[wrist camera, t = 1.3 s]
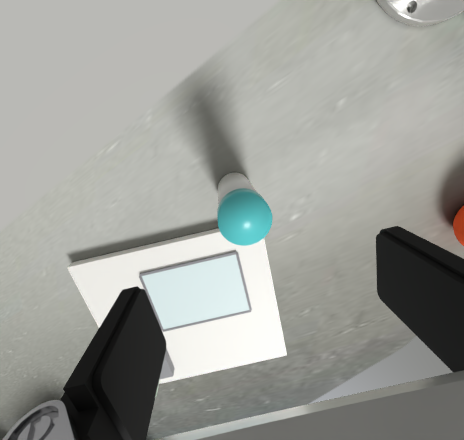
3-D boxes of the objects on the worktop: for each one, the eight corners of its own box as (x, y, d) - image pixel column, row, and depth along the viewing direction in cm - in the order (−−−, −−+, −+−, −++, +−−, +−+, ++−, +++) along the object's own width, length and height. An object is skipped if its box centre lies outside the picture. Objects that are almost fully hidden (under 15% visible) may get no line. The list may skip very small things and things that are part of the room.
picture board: (259, 218, 28) (262, 226, 26) (284, 348, 35) (289, 363, 32) (73, 262, 28) (60, 273, 26) (134, 381, 35) (128, 398, 33)
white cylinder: (248, 167, 26) (267, 188, 16) (254, 201, 27) (276, 238, 18) (213, 176, 26) (211, 201, 16) (221, 209, 27) (224, 250, 18)
